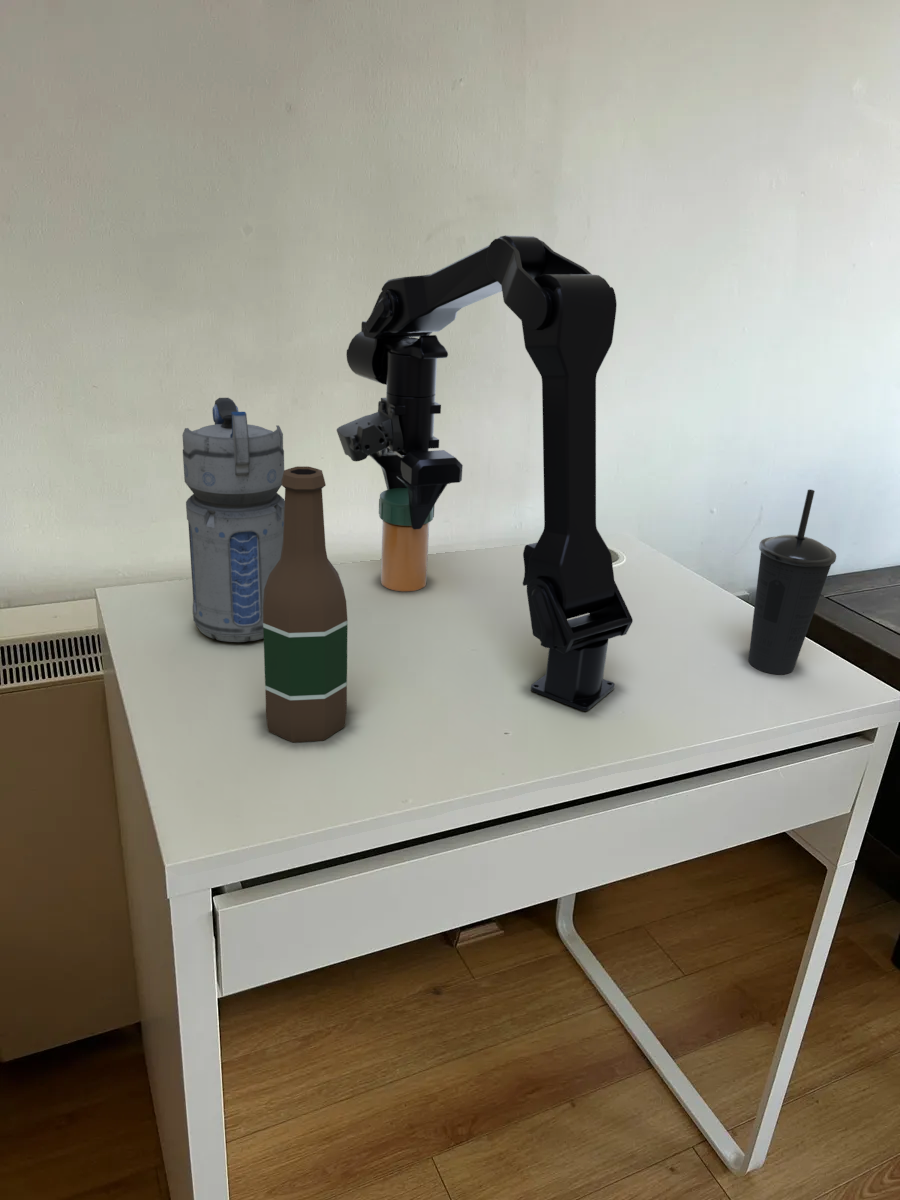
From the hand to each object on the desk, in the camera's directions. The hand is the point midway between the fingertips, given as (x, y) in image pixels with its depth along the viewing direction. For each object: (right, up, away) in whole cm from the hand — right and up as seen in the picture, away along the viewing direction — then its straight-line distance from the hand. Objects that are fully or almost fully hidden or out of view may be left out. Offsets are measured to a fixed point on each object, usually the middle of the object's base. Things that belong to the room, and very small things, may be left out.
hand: (406, 519), depth 111 cm
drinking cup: (+41, -17, -12) cm, 46 cm away
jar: (0, -8, +3) cm, 8 cm away
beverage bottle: (-18, -13, -10) cm, 24 cm away
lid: (0, +2, -1) cm, 3 cm away
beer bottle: (-8, -21, -28) cm, 36 cm away
